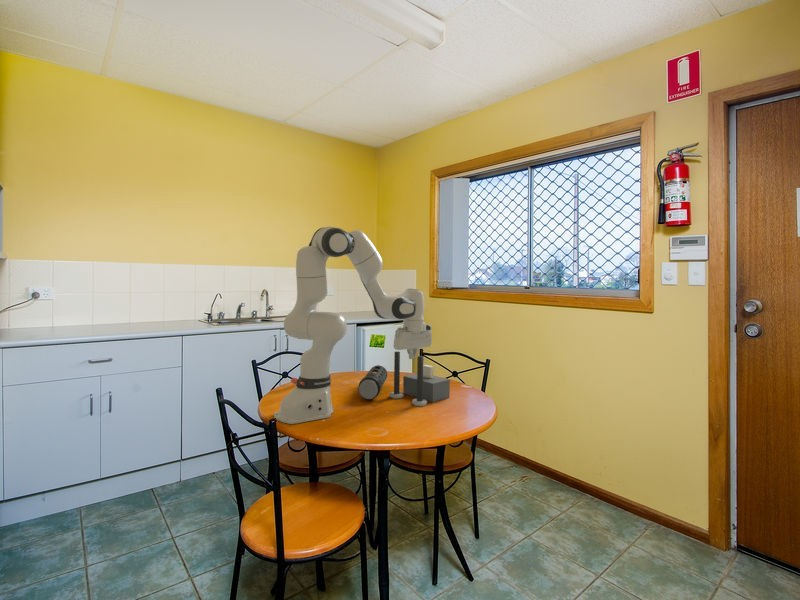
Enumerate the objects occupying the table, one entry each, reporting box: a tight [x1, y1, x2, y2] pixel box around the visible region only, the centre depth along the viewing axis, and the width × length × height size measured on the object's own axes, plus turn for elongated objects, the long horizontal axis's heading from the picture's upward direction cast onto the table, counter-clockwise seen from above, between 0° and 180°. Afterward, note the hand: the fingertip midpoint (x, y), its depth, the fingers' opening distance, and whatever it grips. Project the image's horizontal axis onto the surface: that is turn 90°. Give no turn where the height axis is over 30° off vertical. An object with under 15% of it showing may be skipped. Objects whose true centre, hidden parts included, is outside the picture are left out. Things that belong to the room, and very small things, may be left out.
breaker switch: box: [423, 364, 435, 378], centre depth 186 cm, size 2×5×5 cm, turn 44°
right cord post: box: [411, 355, 428, 407], centre depth 173 cm, size 6×6×20 cm
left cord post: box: [389, 350, 404, 400], centre depth 183 cm, size 6×6×20 cm
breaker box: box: [402, 372, 451, 403], centre depth 186 cm, size 11×18×8 cm, turn 44°
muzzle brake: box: [357, 364, 388, 400], centre depth 188 cm, size 10×28×10 cm, turn 174°
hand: (412, 358), depth 179 cm, fingers closed
